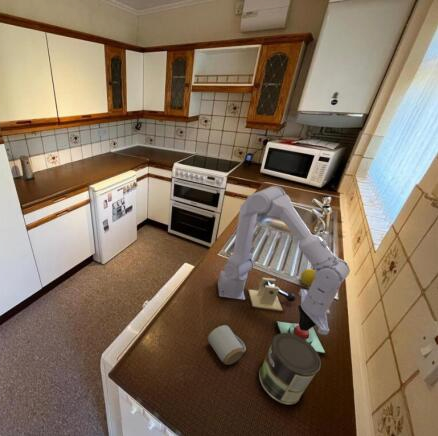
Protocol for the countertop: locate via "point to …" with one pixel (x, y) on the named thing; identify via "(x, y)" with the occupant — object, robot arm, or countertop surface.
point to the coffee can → (288, 368)
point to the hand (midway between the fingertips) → (303, 328)
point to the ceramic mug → (226, 344)
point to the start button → (301, 332)
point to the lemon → (308, 277)
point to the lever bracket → (266, 296)
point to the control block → (311, 338)
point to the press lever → (288, 296)
